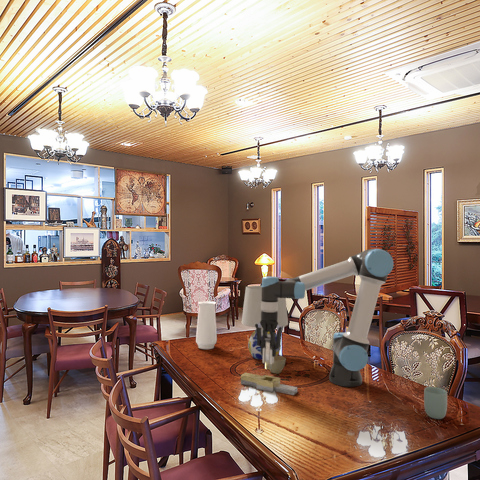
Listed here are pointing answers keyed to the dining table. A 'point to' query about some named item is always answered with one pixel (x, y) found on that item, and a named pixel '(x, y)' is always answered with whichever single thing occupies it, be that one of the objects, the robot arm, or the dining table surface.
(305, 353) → the dining table surface
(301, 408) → the dining table surface
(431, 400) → the cup
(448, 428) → the dining table surface
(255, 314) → the table lamp
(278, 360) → the flower pot
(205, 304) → the vase
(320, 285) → the robot arm
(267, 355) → the pin
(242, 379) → the bar with brass collar
